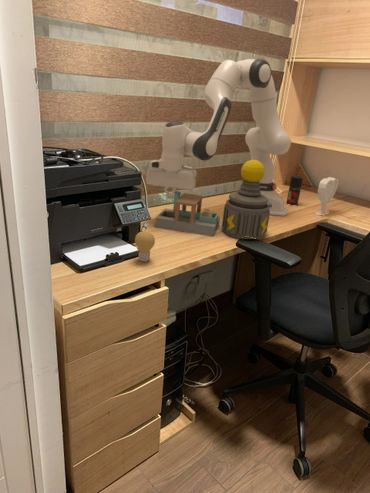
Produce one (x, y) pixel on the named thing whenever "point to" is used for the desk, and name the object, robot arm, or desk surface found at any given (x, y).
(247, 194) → the toy power generator
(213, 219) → the sled
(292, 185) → the deodorant
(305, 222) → the desk surface
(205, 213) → the maple block
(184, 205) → the tunnel deck
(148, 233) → the light bulb
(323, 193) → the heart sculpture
